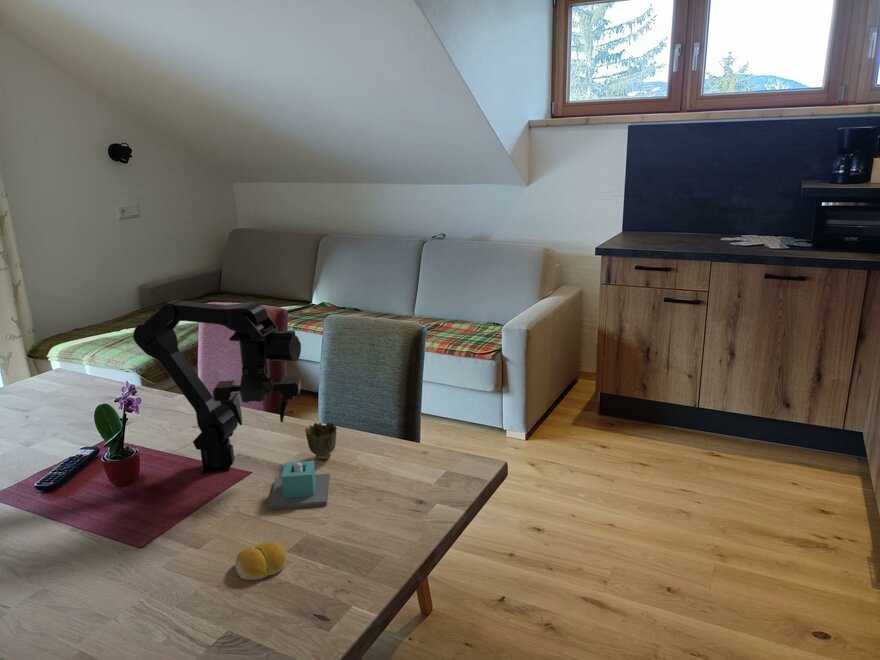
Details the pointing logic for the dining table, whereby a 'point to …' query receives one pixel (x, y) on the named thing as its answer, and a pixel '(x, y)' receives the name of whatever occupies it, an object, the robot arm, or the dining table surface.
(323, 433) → the cup
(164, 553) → the dining table surface
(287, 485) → the teal block with hole
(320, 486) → the post stand
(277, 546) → the bread roll
